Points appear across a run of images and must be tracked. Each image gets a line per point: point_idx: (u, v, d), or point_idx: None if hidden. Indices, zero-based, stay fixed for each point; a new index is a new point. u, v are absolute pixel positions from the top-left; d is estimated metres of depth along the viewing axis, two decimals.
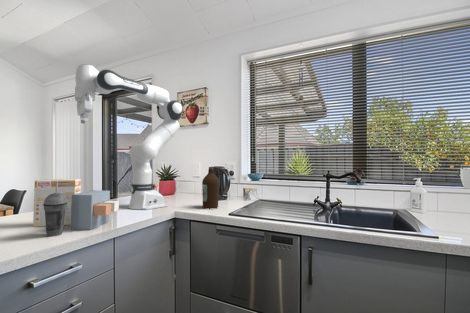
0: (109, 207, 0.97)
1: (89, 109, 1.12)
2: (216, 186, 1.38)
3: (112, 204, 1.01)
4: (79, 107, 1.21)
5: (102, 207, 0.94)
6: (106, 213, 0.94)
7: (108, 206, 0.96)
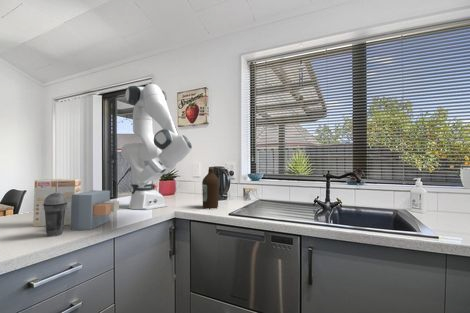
0: (109, 207, 0.97)
1: None
2: (216, 186, 1.38)
3: (112, 204, 1.01)
4: (152, 176, 0.99)
5: (102, 207, 0.94)
6: (106, 213, 0.94)
7: (108, 206, 0.96)
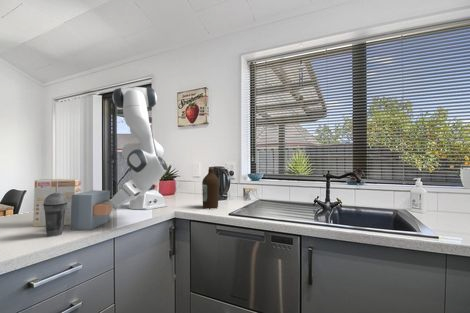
0: (109, 207, 0.97)
1: None
2: (216, 186, 1.38)
3: None
4: (127, 199, 0.99)
5: (102, 207, 0.94)
6: (106, 213, 0.94)
7: (108, 206, 0.96)
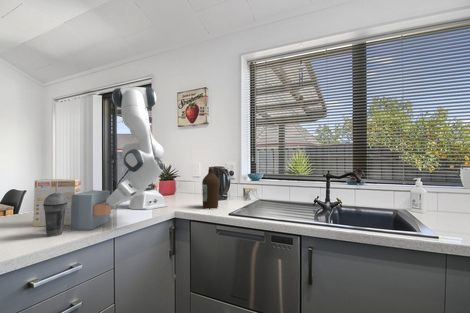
0: (109, 207, 0.97)
1: None
2: (216, 186, 1.38)
3: None
4: (123, 199, 0.99)
5: (102, 207, 0.94)
6: (106, 213, 0.94)
7: (108, 206, 0.96)
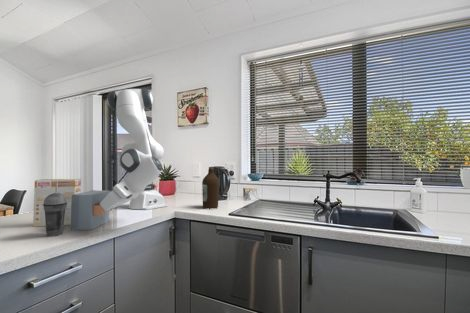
0: None
1: None
2: (216, 186, 1.38)
3: None
4: (118, 202, 0.92)
5: (98, 207, 0.94)
6: (102, 213, 0.94)
7: None
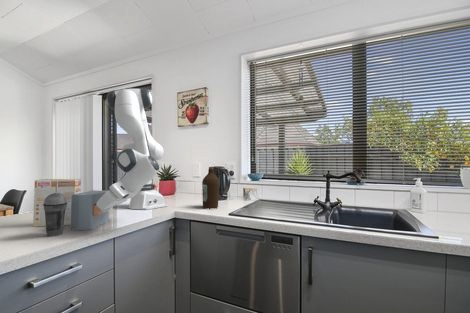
0: None
1: None
2: (216, 186, 1.38)
3: None
4: (115, 202, 0.92)
5: (95, 207, 0.94)
6: (99, 213, 0.94)
7: None
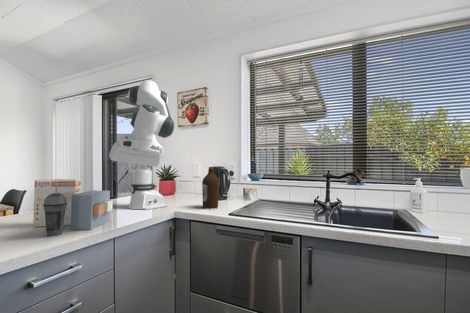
0: (102, 207, 0.97)
1: None
2: (216, 186, 1.38)
3: (105, 204, 1.01)
4: (127, 154, 0.94)
5: (95, 207, 0.94)
6: (99, 213, 0.94)
7: (101, 206, 0.96)
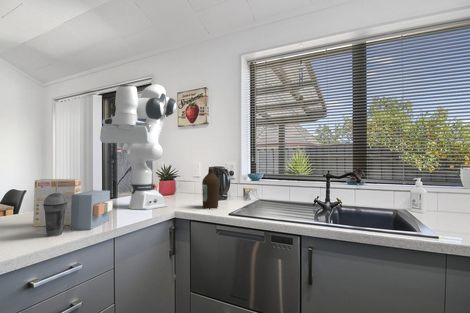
0: (102, 207, 0.97)
1: (148, 142, 0.99)
2: (216, 186, 1.38)
3: (105, 204, 1.01)
4: (113, 134, 0.97)
5: (95, 207, 0.94)
6: (99, 213, 0.94)
7: (101, 206, 0.96)
